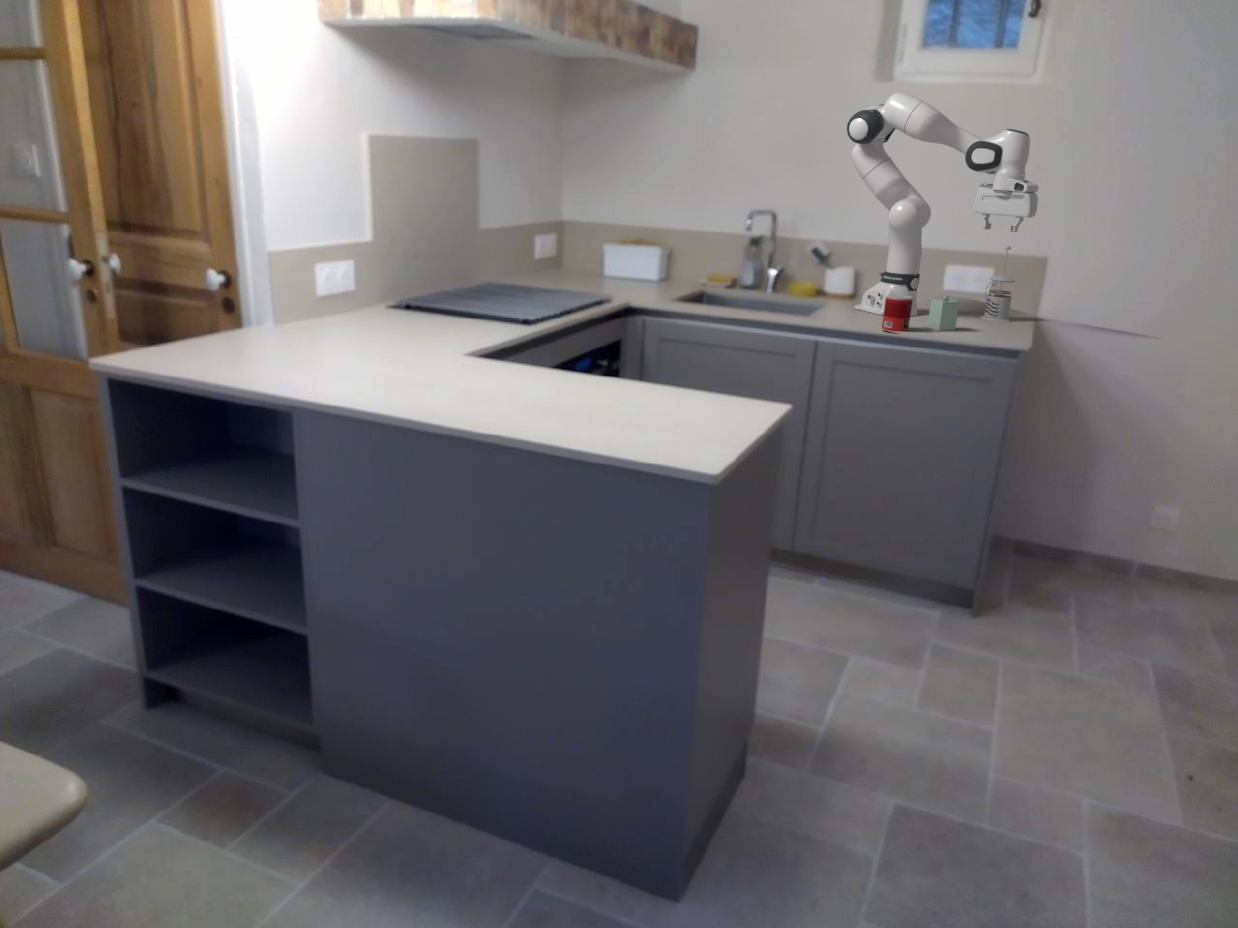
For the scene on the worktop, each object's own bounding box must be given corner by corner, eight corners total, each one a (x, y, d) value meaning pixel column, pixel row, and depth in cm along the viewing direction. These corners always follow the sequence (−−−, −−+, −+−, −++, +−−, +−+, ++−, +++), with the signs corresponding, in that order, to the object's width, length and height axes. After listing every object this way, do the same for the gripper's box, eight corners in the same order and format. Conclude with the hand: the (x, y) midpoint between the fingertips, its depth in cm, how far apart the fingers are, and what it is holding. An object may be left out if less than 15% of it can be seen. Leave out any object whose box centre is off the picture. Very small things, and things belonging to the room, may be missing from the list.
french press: (992, 322, 310) (1005, 247, 302) (971, 316, 320) (983, 243, 312) (1016, 321, 312) (1030, 247, 304) (995, 316, 323) (1007, 244, 315)
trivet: (919, 329, 290) (920, 326, 290) (943, 328, 293) (944, 326, 293) (937, 334, 282) (937, 331, 282) (961, 334, 285) (961, 331, 285)
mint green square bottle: (927, 327, 289) (932, 295, 286) (943, 327, 291) (948, 295, 288) (938, 330, 284) (943, 298, 280) (954, 330, 285) (960, 298, 282)
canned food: (909, 334, 280) (914, 299, 276) (882, 332, 281) (887, 297, 277) (906, 330, 287) (911, 295, 283) (880, 328, 288) (885, 293, 284)
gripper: (972, 183, 289) (965, 227, 293) (1032, 186, 273) (1023, 233, 278) (984, 183, 292) (977, 227, 297) (1043, 186, 277) (1035, 233, 281)
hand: (1000, 230), depth 287 cm, fingers open, 8 cm apart
